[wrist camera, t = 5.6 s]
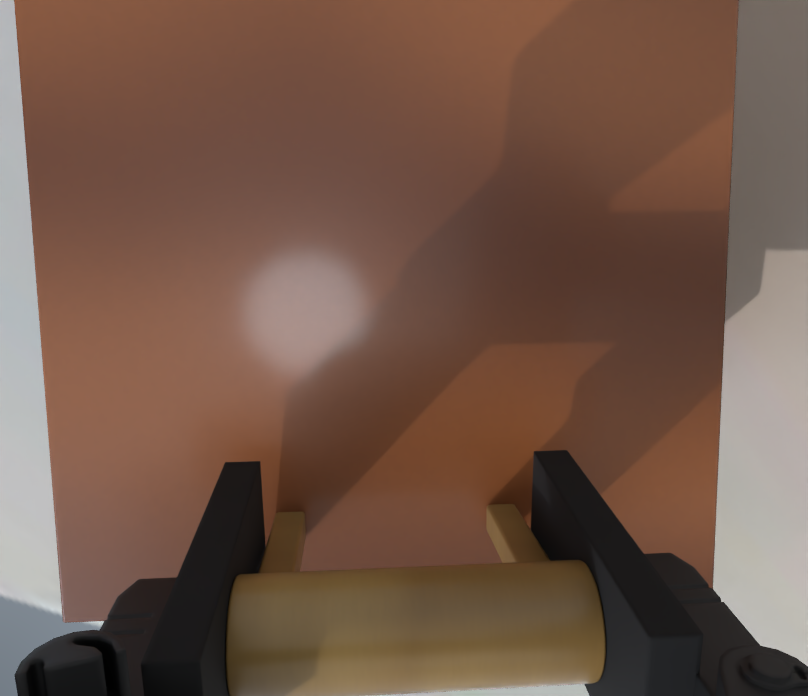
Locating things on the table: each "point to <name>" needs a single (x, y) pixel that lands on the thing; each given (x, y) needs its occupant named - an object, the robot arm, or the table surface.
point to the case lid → (380, 311)
